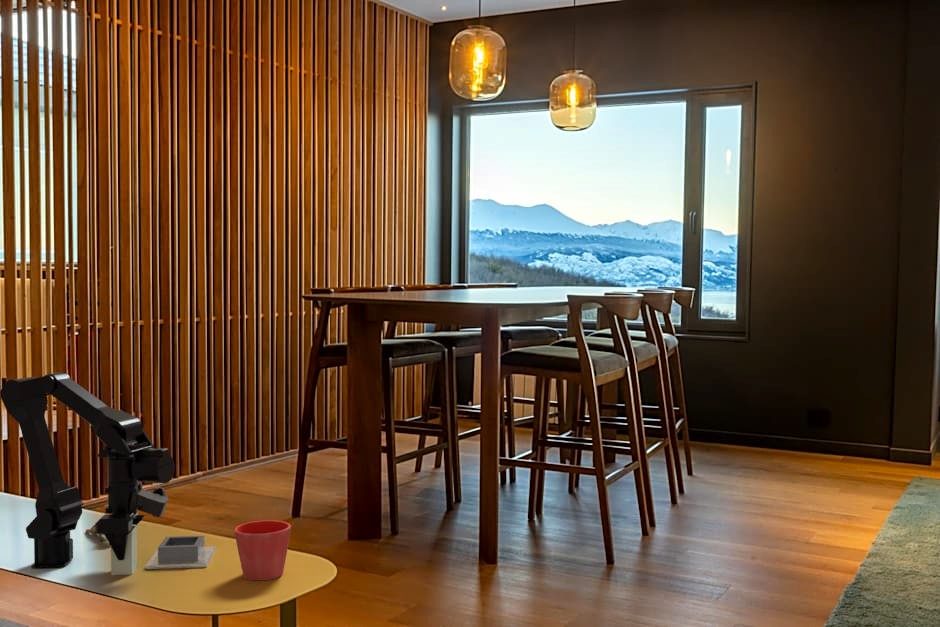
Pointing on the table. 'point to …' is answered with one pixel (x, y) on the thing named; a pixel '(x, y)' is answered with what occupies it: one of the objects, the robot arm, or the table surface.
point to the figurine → (94, 531)
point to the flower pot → (262, 548)
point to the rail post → (126, 557)
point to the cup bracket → (181, 553)
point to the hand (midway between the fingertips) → (124, 556)
